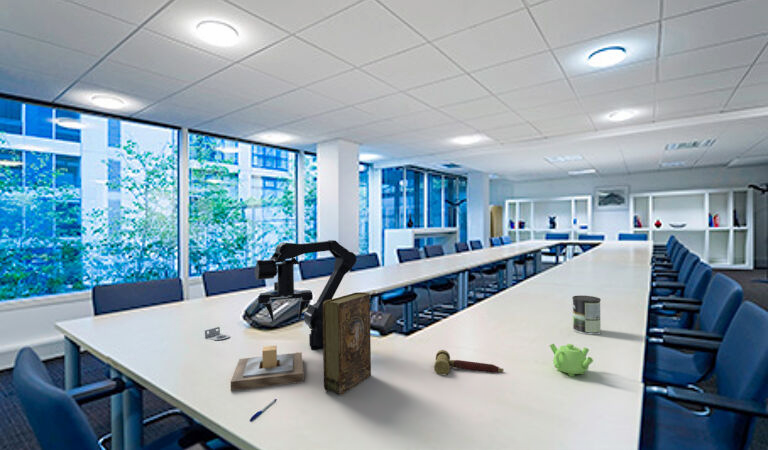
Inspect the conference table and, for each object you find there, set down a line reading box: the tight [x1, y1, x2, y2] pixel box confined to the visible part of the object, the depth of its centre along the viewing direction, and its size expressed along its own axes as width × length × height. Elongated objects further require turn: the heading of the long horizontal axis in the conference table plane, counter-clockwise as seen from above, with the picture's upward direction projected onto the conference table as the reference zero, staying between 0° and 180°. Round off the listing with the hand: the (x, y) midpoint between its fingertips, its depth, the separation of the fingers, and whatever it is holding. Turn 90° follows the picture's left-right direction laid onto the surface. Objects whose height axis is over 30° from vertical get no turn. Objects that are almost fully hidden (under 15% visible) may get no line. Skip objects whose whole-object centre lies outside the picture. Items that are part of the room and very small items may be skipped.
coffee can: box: [572, 295, 602, 336], centre depth 149 cm, size 10×10×14 cm
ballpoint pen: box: [249, 398, 277, 422], centre depth 89 cm, size 10×1×1 cm, turn 165°
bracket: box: [204, 326, 231, 341], centre depth 149 cm, size 7×10×4 cm, turn 57°
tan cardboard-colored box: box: [262, 345, 278, 368], centre depth 111 cm, size 4×4×8 cm
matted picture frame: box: [230, 352, 305, 392], centre depth 111 cm, size 20×18×3 cm
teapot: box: [549, 343, 594, 378], centre depth 109 cm, size 11×12×8 cm
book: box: [322, 291, 372, 396], centre depth 103 cm, size 16×6×25 cm, turn 148°
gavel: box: [433, 349, 504, 375], centre depth 111 cm, size 21×5×10 cm
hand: (286, 320), depth 129 cm, fingers open, 9 cm apart
